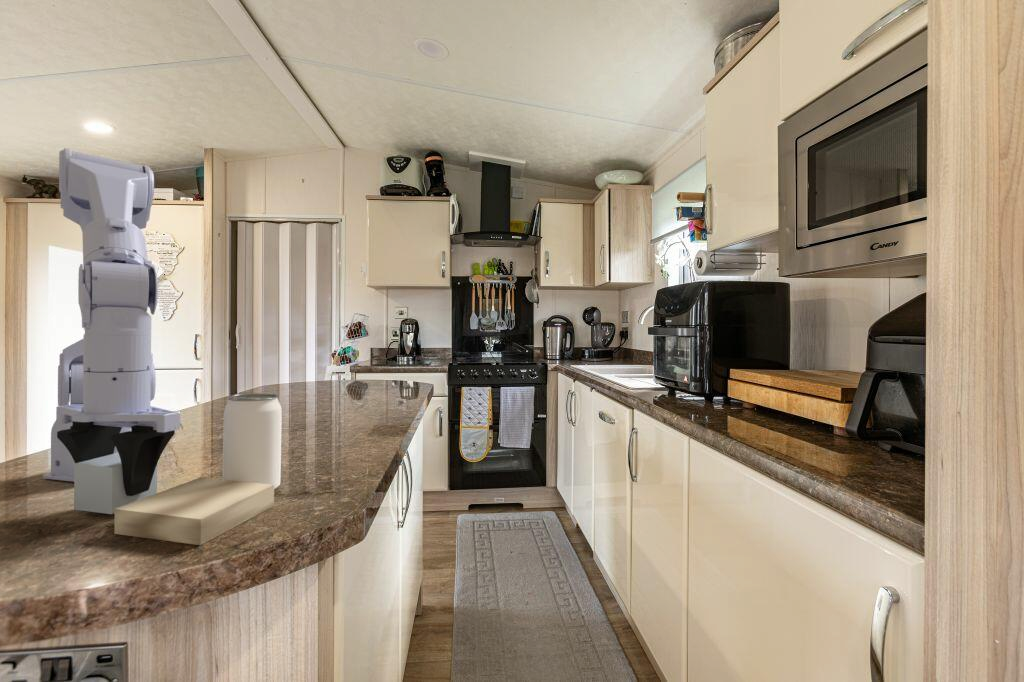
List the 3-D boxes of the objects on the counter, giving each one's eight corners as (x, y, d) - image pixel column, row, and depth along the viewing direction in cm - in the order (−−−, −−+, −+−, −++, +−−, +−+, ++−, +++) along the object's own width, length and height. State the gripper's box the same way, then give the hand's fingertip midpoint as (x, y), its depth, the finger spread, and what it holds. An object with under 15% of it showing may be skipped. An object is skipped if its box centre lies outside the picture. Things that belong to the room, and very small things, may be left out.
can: (254, 501, 54) (256, 401, 54) (209, 495, 56) (210, 398, 55) (291, 483, 61) (293, 394, 60) (249, 479, 62) (251, 391, 62)
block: (74, 509, 49) (74, 463, 49) (121, 493, 54) (122, 451, 54) (111, 514, 48) (112, 467, 48) (156, 497, 53) (157, 455, 53)
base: (114, 533, 45) (114, 508, 45) (200, 497, 55) (201, 477, 55) (200, 545, 43) (200, 519, 43) (273, 505, 53) (274, 484, 53)
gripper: (22, 369, 48) (22, 496, 49) (136, 376, 45) (135, 510, 46) (95, 365, 55) (94, 475, 55) (197, 370, 52) (195, 487, 53)
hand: (117, 490), depth 51 cm, fingers closed on block, 5 cm apart
